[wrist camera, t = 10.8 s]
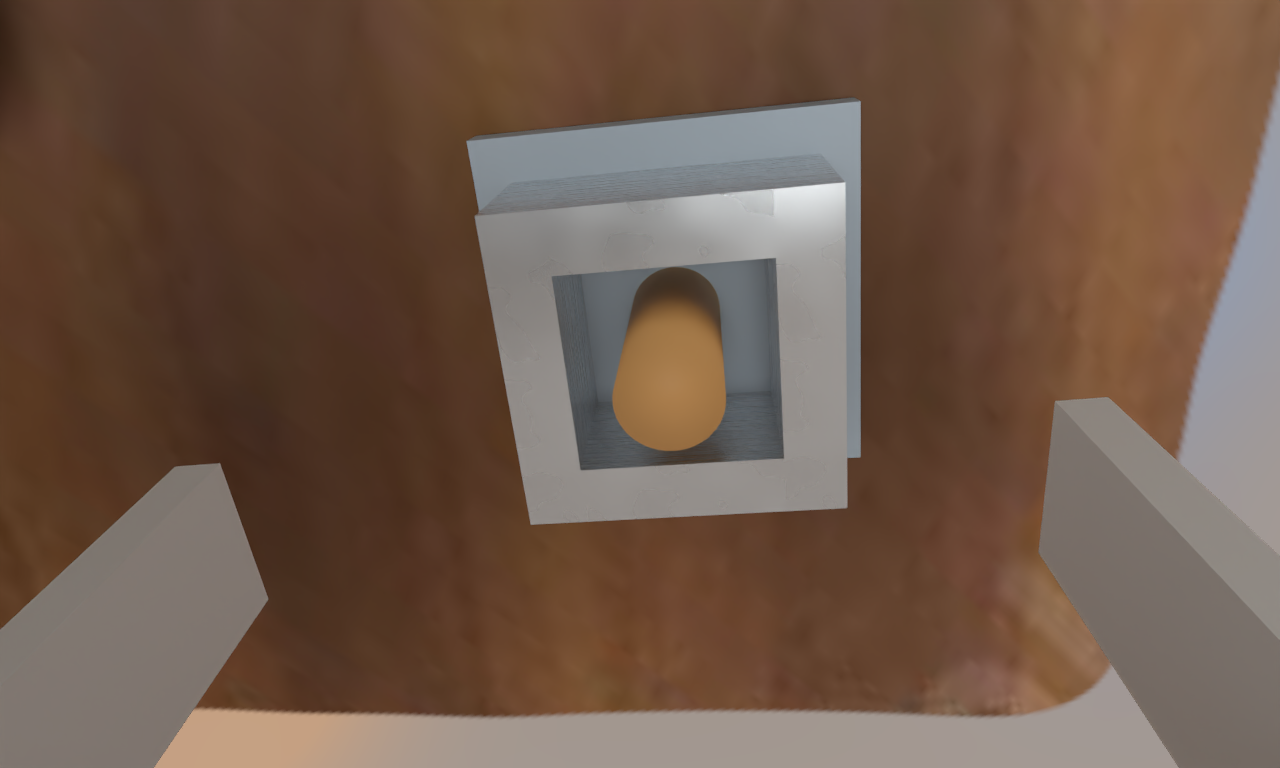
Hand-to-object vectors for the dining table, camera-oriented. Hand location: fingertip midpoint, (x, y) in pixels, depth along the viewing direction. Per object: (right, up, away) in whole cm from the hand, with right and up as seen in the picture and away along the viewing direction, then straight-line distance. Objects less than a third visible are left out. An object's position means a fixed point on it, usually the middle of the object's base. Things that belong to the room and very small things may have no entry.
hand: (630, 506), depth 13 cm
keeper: (+1, +4, +11) cm, 12 cm away
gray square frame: (+1, +4, +10) cm, 11 cm away
